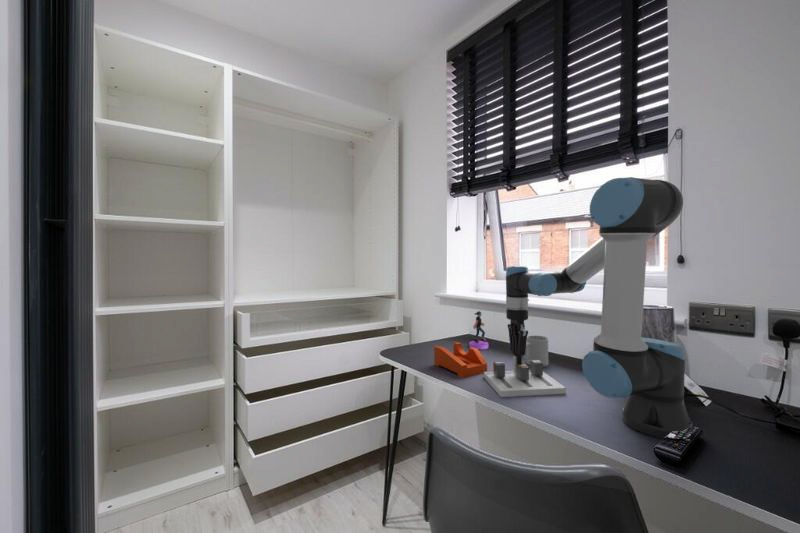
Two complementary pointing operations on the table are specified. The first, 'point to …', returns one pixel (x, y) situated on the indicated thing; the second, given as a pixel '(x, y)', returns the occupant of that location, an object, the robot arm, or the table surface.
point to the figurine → (476, 343)
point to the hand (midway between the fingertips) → (517, 372)
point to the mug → (537, 349)
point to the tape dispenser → (460, 360)
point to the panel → (524, 385)
